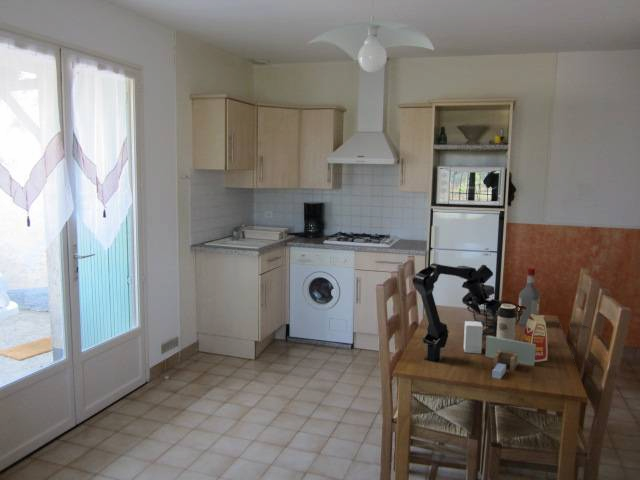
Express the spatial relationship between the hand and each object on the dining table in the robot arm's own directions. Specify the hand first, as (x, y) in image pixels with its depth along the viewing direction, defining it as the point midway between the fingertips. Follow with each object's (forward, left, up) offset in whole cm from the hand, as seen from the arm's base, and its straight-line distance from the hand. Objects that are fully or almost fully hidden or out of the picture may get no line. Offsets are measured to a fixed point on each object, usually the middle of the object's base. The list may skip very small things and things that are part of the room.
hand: (487, 316), depth 238 cm
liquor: (+49, -9, -15) cm, 52 cm away
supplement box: (-7, +4, -15) cm, 17 cm away
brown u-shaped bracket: (-18, -13, -15) cm, 27 cm away
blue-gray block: (-29, -13, -15) cm, 35 cm away
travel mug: (+12, -6, -15) cm, 20 cm away
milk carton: (-1, -21, -15) cm, 26 cm away
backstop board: (-11, -13, -15) cm, 23 cm away
